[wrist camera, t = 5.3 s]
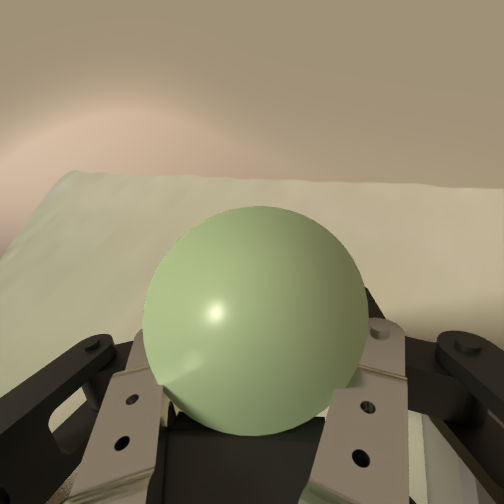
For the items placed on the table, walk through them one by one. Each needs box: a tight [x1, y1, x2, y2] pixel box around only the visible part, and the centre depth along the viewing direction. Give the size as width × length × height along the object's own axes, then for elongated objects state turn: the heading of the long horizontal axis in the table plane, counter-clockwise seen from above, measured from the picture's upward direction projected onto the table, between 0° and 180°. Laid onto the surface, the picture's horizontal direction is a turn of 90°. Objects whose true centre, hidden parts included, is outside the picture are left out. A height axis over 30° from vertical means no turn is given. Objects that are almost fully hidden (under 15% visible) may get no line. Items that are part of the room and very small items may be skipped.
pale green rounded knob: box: [142, 206, 369, 436], centre depth 11 cm, size 5×5×11 cm
